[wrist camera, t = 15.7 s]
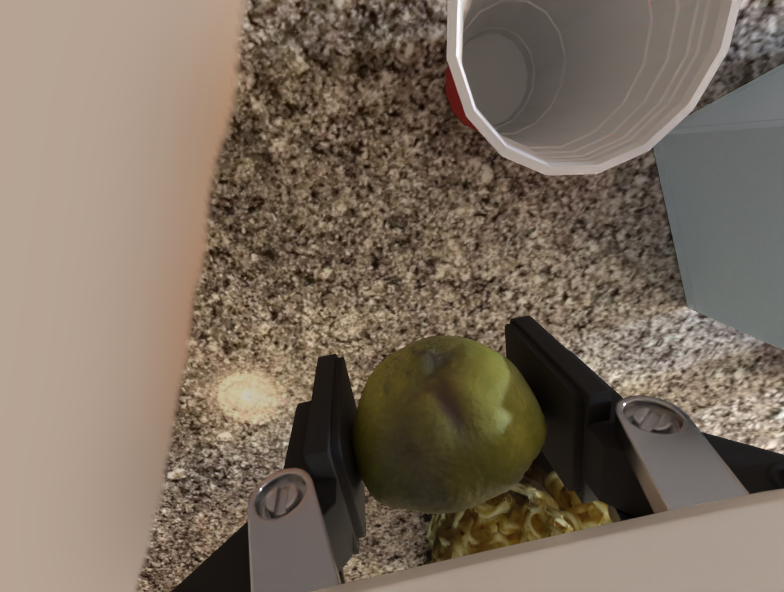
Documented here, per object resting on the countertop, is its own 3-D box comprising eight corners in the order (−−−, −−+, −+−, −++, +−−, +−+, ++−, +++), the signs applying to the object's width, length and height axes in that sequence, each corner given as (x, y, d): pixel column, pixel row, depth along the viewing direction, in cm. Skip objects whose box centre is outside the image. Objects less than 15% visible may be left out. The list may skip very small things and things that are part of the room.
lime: (519, 348, 12) (626, 472, 7) (430, 447, 13) (474, 608, 8) (412, 276, 11) (459, 372, 6) (324, 394, 12) (307, 550, 7)
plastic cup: (420, -42, 21) (498, -263, 10) (585, 3, 23) (809, -142, 12) (390, 154, 25) (422, 151, 14) (534, 180, 27) (667, 197, 15)
